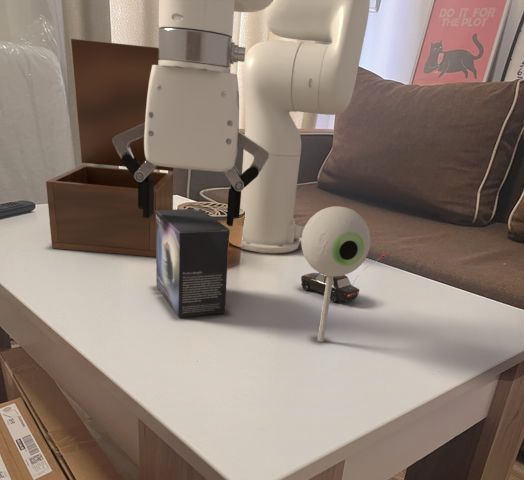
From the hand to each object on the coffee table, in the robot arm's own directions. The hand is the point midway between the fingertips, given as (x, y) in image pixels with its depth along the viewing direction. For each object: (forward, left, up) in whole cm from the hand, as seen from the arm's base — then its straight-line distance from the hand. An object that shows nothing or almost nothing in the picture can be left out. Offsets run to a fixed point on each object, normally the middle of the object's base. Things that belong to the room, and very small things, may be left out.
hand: (189, 219), depth 62 cm
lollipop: (-16, +9, -11) cm, 21 cm away
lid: (+15, -34, +9) cm, 38 cm away
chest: (+15, -26, -10) cm, 32 cm away
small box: (0, 0, -11) cm, 11 cm away
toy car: (-20, -5, -11) cm, 23 cm away
